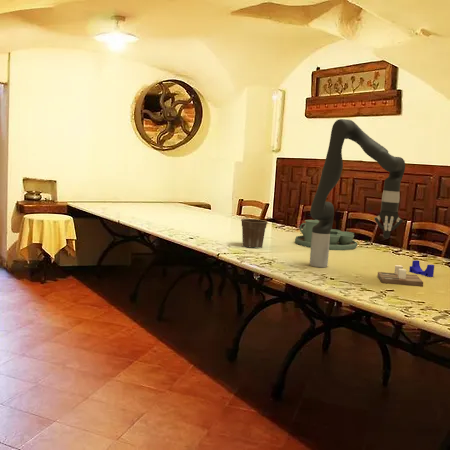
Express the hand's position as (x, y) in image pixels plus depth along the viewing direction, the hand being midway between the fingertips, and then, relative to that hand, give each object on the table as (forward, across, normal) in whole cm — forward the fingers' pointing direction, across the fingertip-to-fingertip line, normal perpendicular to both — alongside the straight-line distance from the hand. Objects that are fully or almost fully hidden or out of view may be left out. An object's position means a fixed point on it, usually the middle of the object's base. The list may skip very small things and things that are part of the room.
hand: (386, 238), depth 235 cm
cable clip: (+20, -23, -24) cm, 39 cm away
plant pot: (+22, +67, -67) cm, 97 cm away
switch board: (+20, -9, -3) cm, 22 cm away
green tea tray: (+22, +22, -98) cm, 103 cm away
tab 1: (+18, -9, -8) cm, 21 cm away
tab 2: (+18, -9, +1) cm, 20 cm away
